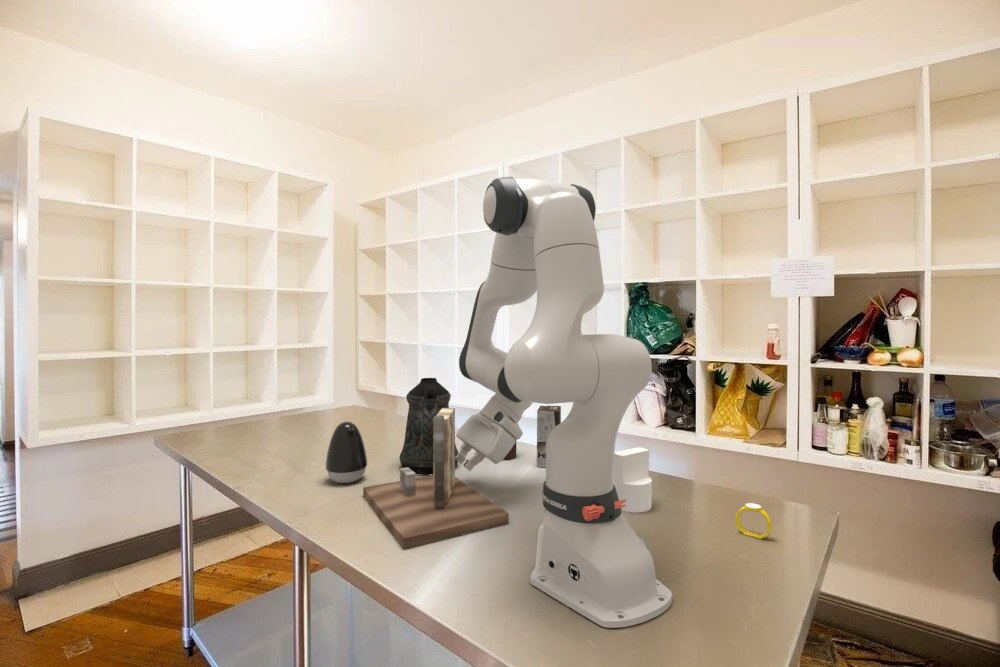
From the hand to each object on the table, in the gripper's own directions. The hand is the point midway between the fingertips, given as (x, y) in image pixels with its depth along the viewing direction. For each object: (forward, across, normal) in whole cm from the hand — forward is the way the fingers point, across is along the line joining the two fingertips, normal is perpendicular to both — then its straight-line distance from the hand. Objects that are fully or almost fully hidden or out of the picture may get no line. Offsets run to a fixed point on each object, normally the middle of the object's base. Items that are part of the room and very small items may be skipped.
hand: (462, 465), depth 111 cm
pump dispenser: (+21, -23, -11) cm, 33 cm away
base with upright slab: (-16, +22, +28) cm, 39 cm away
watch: (-24, +44, +36) cm, 61 cm away
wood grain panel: (+7, +3, -1) cm, 8 cm away
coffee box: (-16, -12, +29) cm, 35 cm away
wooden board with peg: (+11, +4, -2) cm, 12 cm away
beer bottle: (-10, -24, +23) cm, 34 cm away
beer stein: (+6, -24, +6) cm, 25 cm away
